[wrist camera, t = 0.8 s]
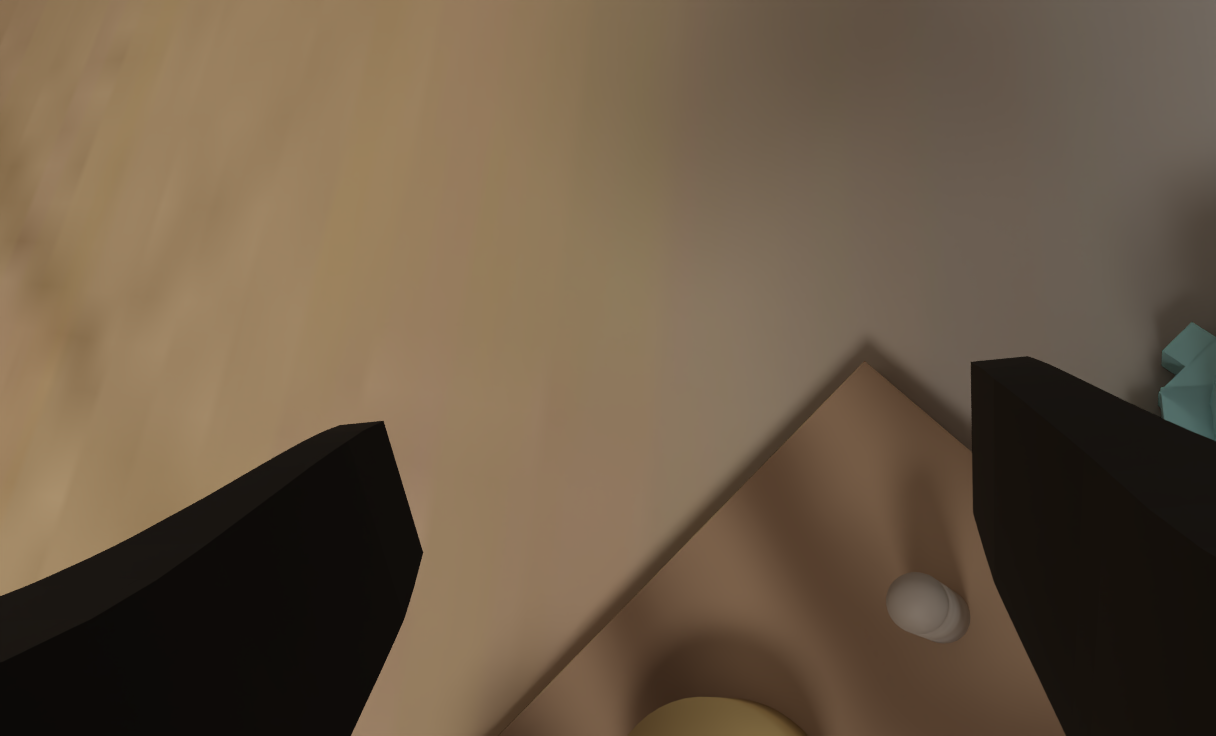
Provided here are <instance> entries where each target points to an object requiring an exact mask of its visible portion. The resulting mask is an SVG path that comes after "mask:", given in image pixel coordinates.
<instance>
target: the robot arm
mask: <svg viewBox="0 0 1216 736" xmlns="http://www.w3.org/2000/svg"><path fill="white" fill-rule="evenodd" d="M971 408H972V484H973V515H974V518H975V522H976V525H977V529H978V532H979V535H980V539H981V542H982V546H983V549H984V552H985V555H986V559H987V562H988V565H989V568H990V571H991V574H992V578H993V581H994V584H995V586H996V588H997V590H998V593H999V595H1000V597H1001V599H1002V601H1003V604H1004V606H1005V608H1006V610H1007V612H1008V614H1009V617H1010V619H1011V621H1012V623H1013V625H1014V627H1015V629H1016V632H1017V634H1018V636H1019V638H1020V640H1021V642H1022V644H1023V646H1024V649H1025V651H1026V653H1027V655H1028V657H1029V659H1030V661H1031V663H1032V665H1033V667H1034V670H1035V672H1036V674H1037V676H1038V678H1039V680H1040V682H1041V684H1042V686H1043V689H1044V691H1045V693H1046V695H1047V697H1048V699H1049V701H1050V703H1051V705H1052V708H1053V710H1054V712H1055V714H1056V716H1057V718H1058V720H1059V722H1060V724H1061V726H1062V729H1063V731H1064V733H1065V735H1066V736H1216V441H1215V440H1212V439H1210V438H1207V437H1205V436H1202V435H1200V434H1197V433H1195V432H1192V431H1190V430H1188V429H1186V428H1183V427H1181V426H1179V425H1176V424H1174V423H1172V422H1170V421H1167V420H1165V419H1163V418H1161V417H1158V416H1156V415H1154V414H1152V413H1150V412H1147V411H1145V410H1143V409H1141V408H1139V407H1137V406H1135V405H1133V404H1130V403H1128V402H1126V401H1124V400H1122V399H1120V398H1118V397H1116V396H1114V395H1112V394H1110V393H1107V392H1105V391H1103V390H1101V389H1099V388H1097V387H1095V386H1093V385H1091V384H1089V383H1087V382H1085V381H1083V380H1081V379H1079V378H1077V377H1075V376H1073V375H1071V374H1069V373H1066V372H1064V371H1062V370H1060V369H1058V368H1056V367H1054V366H1051V365H1049V364H1047V363H1045V362H1042V361H1040V360H1037V359H1034V358H1031V357H1028V356H1026V357H1016V358H1006V359H996V360H986V361H976V362H971ZM422 555H423V551H422V547H421V544H420V541H419V537H418V534H417V531H416V527H415V524H414V521H413V517H412V514H411V511H410V507H409V504H408V501H407V498H406V494H405V491H404V488H403V484H402V481H401V478H400V474H399V471H398V468H397V464H396V461H395V458H394V454H393V451H392V448H391V444H390V441H389V438H388V434H387V431H386V428H385V424H384V421H377V422H367V423H357V424H347V425H339V426H336V427H334V428H331V429H329V430H326V431H324V432H321V433H319V434H317V435H315V436H313V437H311V438H309V439H307V440H305V441H303V442H301V443H299V444H297V445H296V446H294V447H292V448H290V449H288V450H287V451H285V452H283V453H281V454H279V455H278V456H276V457H274V458H272V459H271V460H269V461H267V462H265V463H264V464H262V465H260V466H258V467H257V468H255V469H253V470H252V471H250V472H248V473H246V474H245V475H243V476H241V477H239V478H238V479H236V480H234V481H233V482H231V483H229V484H227V485H226V486H224V487H222V488H220V489H219V490H217V491H215V492H214V493H212V494H210V495H208V496H207V497H205V498H203V499H201V500H199V501H197V502H196V503H194V504H192V505H190V506H188V507H186V508H185V509H183V510H181V511H179V512H177V513H175V514H174V515H172V516H170V517H168V518H166V519H164V520H163V521H161V522H159V523H157V524H155V525H153V526H151V527H150V528H148V529H146V530H144V531H142V532H140V533H139V534H137V535H135V536H133V537H131V538H129V539H127V540H125V541H123V542H121V543H119V544H117V545H115V546H113V547H111V548H109V549H107V550H105V551H103V552H101V553H99V554H97V555H95V556H93V557H91V558H88V559H86V560H84V561H82V562H80V563H77V564H75V565H73V566H71V567H69V568H66V569H64V570H62V571H60V572H57V573H55V574H53V575H51V576H49V577H46V578H44V579H42V580H40V581H37V582H35V583H32V584H30V585H28V586H25V587H23V588H20V589H18V590H15V591H13V592H10V593H7V594H5V595H2V596H0V736H351V734H352V732H353V730H354V728H355V726H356V723H357V721H358V719H359V717H360V715H361V713H362V711H363V708H364V706H365V704H366V702H367V700H368V698H369V696H370V693H371V691H372V689H373V687H374V685H375V683H376V681H377V678H378V676H379V674H380V672H381V670H382V668H383V665H384V663H385V661H386V659H387V657H388V654H389V652H390V650H391V648H392V645H393V643H394V641H395V639H396V637H397V634H398V632H399V630H400V627H401V625H402V623H403V621H404V618H405V615H406V612H407V608H408V605H409V602H410V599H411V595H412V592H413V589H414V585H415V581H416V578H417V574H418V570H419V566H420V562H421V559H422Z"/></svg>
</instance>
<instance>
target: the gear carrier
mask: <svg viewBox="0 0 1216 736" xmlns="http://www.w3.org/2000/svg"><path fill="white" fill-rule="evenodd" d="M499 736H1066V735H1065V733H1064V731H1063V729H1062V726H1061V724H1060V722H1059V720H1058V718H1057V716H1056V714H1055V712H1054V710H1053V708H1052V705H1051V703H1050V701H1049V699H1048V697H1047V695H1046V693H1045V691H1044V689H1043V686H1042V684H1041V682H1040V680H1039V678H1038V676H1037V674H1036V672H1035V670H1034V667H1033V665H1032V663H1031V661H1030V659H1029V657H1028V655H1027V653H1026V651H1025V649H1024V646H1023V644H1022V642H1021V640H1020V638H1019V636H1018V634H1017V632H1016V629H1015V627H1014V625H1013V623H1012V621H1011V619H1010V617H1009V614H1008V612H1007V610H1006V608H1005V606H1004V604H1003V601H1002V599H1001V597H1000V595H999V593H998V590H997V588H996V586H995V584H994V581H993V578H992V574H991V571H990V568H989V565H988V562H987V559H986V555H985V552H984V549H983V546H982V542H981V539H980V535H979V532H978V529H977V525H976V522H975V518H974V515H973V484H972V452H971V451H970V450H969V449H967V448H966V447H965V446H964V445H963V444H962V443H960V442H959V441H958V440H957V439H956V438H954V437H953V436H952V435H951V434H950V433H949V432H947V431H946V430H945V429H944V428H943V427H942V426H940V425H939V424H938V423H937V422H936V421H934V420H933V419H932V418H931V417H930V416H929V415H927V414H926V413H925V412H924V411H923V410H922V409H920V408H919V407H918V406H917V405H916V404H915V403H913V402H912V401H911V400H910V399H909V398H907V397H906V396H905V395H904V394H903V393H902V392H900V391H899V390H898V389H897V388H896V387H895V386H893V385H892V384H891V383H890V382H889V381H887V380H886V379H885V378H884V377H883V376H882V375H880V374H879V373H878V372H877V371H876V370H875V369H873V368H872V367H871V366H870V365H869V364H867V363H866V362H865V361H864V362H863V363H862V364H861V365H860V366H859V367H858V368H857V369H856V370H855V371H854V372H853V373H852V374H851V375H850V376H849V377H848V378H847V379H846V380H845V381H844V382H843V383H842V384H841V385H840V386H839V388H838V389H837V390H836V391H835V392H834V393H833V394H832V395H831V396H830V397H829V398H828V399H827V400H826V401H825V402H824V403H823V404H822V405H821V406H820V407H819V408H818V409H817V410H816V411H815V412H814V413H813V414H812V415H811V416H810V417H809V418H808V419H807V420H806V421H805V422H804V423H803V424H802V425H801V426H800V427H799V428H798V429H797V431H796V432H795V433H794V434H793V435H792V436H791V437H790V438H789V439H788V440H787V441H786V442H785V443H784V444H783V445H782V446H781V447H780V448H779V449H778V450H777V451H776V452H775V453H774V454H773V455H772V456H771V457H770V458H769V459H768V460H767V461H766V462H765V463H764V464H763V465H762V466H761V467H760V468H759V469H758V470H757V471H756V472H755V473H754V475H753V476H752V477H751V478H750V479H749V480H748V481H747V482H746V483H745V484H744V485H743V486H742V487H741V488H740V489H739V490H738V491H737V492H736V493H735V494H734V495H733V496H732V497H731V498H730V499H729V500H728V501H727V502H726V503H725V504H724V505H723V506H722V507H721V508H720V509H719V510H718V511H717V512H716V513H715V514H714V515H713V516H712V518H711V519H710V520H709V521H708V522H707V523H706V524H705V525H704V526H703V527H702V528H701V529H700V530H699V531H698V532H697V533H696V534H695V535H694V536H693V537H692V538H691V539H690V540H689V541H688V542H687V543H686V544H685V545H684V546H683V547H682V548H681V549H680V550H679V551H678V552H677V553H676V554H675V555H674V556H673V557H672V558H671V559H670V561H669V562H668V563H667V564H666V565H665V566H664V567H663V568H662V569H661V570H660V571H659V572H658V573H657V574H656V575H655V576H654V577H653V578H652V579H651V580H650V581H649V582H648V583H647V584H646V585H645V586H644V587H643V588H642V589H641V590H640V591H639V592H638V593H637V594H636V595H635V596H634V597H633V598H632V599H631V600H630V601H629V602H628V603H627V605H626V606H625V607H624V608H623V609H622V610H621V611H620V612H619V613H618V614H617V615H616V616H615V617H614V618H613V619H612V620H611V621H610V622H609V623H608V624H607V625H606V626H605V627H604V628H603V629H602V630H601V631H600V632H599V633H598V634H597V635H596V636H595V637H594V638H593V639H592V640H591V641H590V642H589V643H588V644H587V645H586V646H585V648H584V649H583V650H582V651H581V652H580V653H579V654H578V655H577V656H576V657H575V658H574V659H573V660H572V661H571V662H570V663H569V664H568V665H567V666H566V667H565V668H564V669H563V670H562V671H561V672H560V673H559V674H558V675H557V676H556V677H555V678H554V679H553V680H552V681H551V682H550V683H549V684H548V685H547V686H546V687H545V688H544V689H543V690H542V692H541V693H540V694H539V695H538V696H537V697H536V698H535V699H534V700H533V701H532V702H531V703H530V704H529V705H528V706H527V707H526V708H525V709H524V710H523V711H522V712H521V713H520V714H519V715H518V716H517V717H516V718H515V719H514V720H513V721H512V722H511V723H510V724H509V725H508V726H507V727H506V728H505V729H504V730H503V731H502V732H501V733H500V735H499Z"/></svg>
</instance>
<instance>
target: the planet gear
mask: <svg viewBox="0 0 1216 736" xmlns="http://www.w3.org/2000/svg"><path fill="white" fill-rule="evenodd" d="M1161 366H1163V367H1164V368H1166V369H1167V370H1169V371H1170V372H1172V373H1173V374H1175V375H1176V376H1175V377H1174V378H1173V379H1172V380H1171V381H1170V382H1169V383H1168V384H1167V385H1166V386H1165V387H1161V388H1160V392H1159V395H1158V406H1159V407H1160V408H1161V417H1162V418H1163V419H1165V420H1167V421H1170V422H1172V423H1174V424H1176V425H1179V426H1181V427H1183V428H1186V429H1188V430H1190V431H1192V432H1195V433H1197V434H1200V435H1202V436H1205V437H1207V438H1210V439H1212V440H1215V441H1216V337H1215V336H1213V335H1212V334H1210V333H1209V332H1207V331H1206V330H1204V329H1202V328H1201V327H1199V326H1198V325H1196V324H1195V323H1193V322H1191V323H1190V324H1189V325H1188V326H1187V327H1186V328H1185V329H1184V330H1183V331H1182V332H1181V333H1180V334H1179V335H1178V336H1177V337H1176V338H1175V339H1174V340H1173V341H1172V342H1171V343H1170V344H1169V345H1168V346H1167V347H1165V348H1164V349H1163V350H1162V365H1161Z"/></svg>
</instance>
